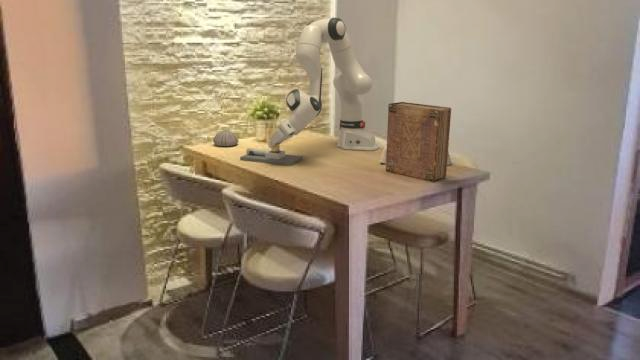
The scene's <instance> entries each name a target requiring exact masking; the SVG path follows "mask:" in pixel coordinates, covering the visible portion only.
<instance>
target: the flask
mask: <svg viewBox="0 0 640 360" xmlns="http://www.w3.org/2000/svg"><path fill="white" fill-rule="evenodd" d="M452 164H453V162H452V159H451V156H450V152H449V151H448V158H447V166H452Z"/></svg>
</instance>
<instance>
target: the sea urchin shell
mask: <svg viewBox="0 0 640 360" xmlns="http://www.w3.org/2000/svg"><path fill="white" fill-rule="evenodd" d="M212 142H213V144H214V145H215V146H217V147H232V146H237V145H238V144H239V138H238V136H237V135H236V134H235V132H233V131H231V130H226V129H225V130H221V131H218V132H217V133H216V134H215V135H214V137H213V140H212Z"/></svg>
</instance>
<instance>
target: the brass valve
mask: <svg viewBox="0 0 640 360" xmlns="http://www.w3.org/2000/svg"><path fill="white" fill-rule="evenodd" d="M280 147H281V145H280V142H279V143H277V144H274V146H273V147H271V148H270V150H271V153H280V151H281V150H280V149H281V148H280Z"/></svg>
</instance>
